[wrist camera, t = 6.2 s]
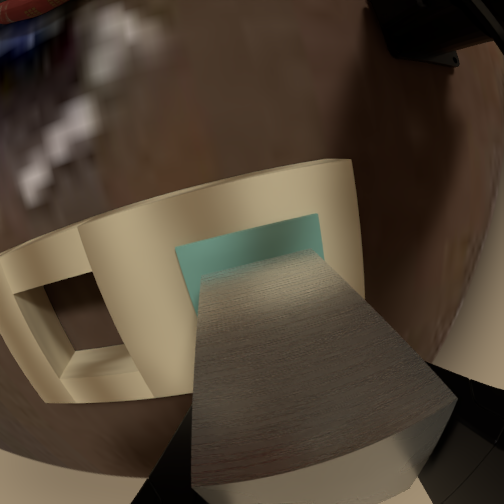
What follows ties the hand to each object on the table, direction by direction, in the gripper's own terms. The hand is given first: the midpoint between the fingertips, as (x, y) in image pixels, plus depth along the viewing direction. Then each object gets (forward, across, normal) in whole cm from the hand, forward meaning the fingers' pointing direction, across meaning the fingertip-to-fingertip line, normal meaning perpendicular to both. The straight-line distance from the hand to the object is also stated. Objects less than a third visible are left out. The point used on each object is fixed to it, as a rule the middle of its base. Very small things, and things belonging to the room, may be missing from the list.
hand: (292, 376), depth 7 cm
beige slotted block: (+8, +5, 0) cm, 10 cm away
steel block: (+4, 0, 0) cm, 4 cm away
